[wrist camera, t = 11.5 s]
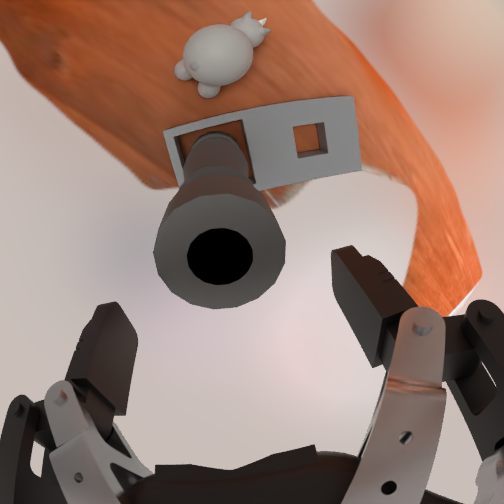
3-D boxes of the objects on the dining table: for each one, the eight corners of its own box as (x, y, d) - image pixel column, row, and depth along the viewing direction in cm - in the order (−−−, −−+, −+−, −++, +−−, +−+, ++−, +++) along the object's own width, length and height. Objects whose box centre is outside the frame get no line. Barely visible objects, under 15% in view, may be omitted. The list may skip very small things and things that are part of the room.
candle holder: (243, 134, 32) (307, 197, 11) (235, 180, 35) (275, 315, 14) (193, 128, 31) (148, 180, 10) (188, 175, 34) (149, 307, 13)
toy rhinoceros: (268, 55, 29) (303, 29, 22) (206, 109, 29) (231, 86, 21) (230, 21, 26) (258, -13, 19) (162, 71, 25) (174, 37, 18)
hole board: (167, 129, 31) (162, 131, 28) (343, 95, 31) (353, 95, 28) (188, 201, 36) (186, 209, 33) (351, 165, 36) (361, 170, 33)
